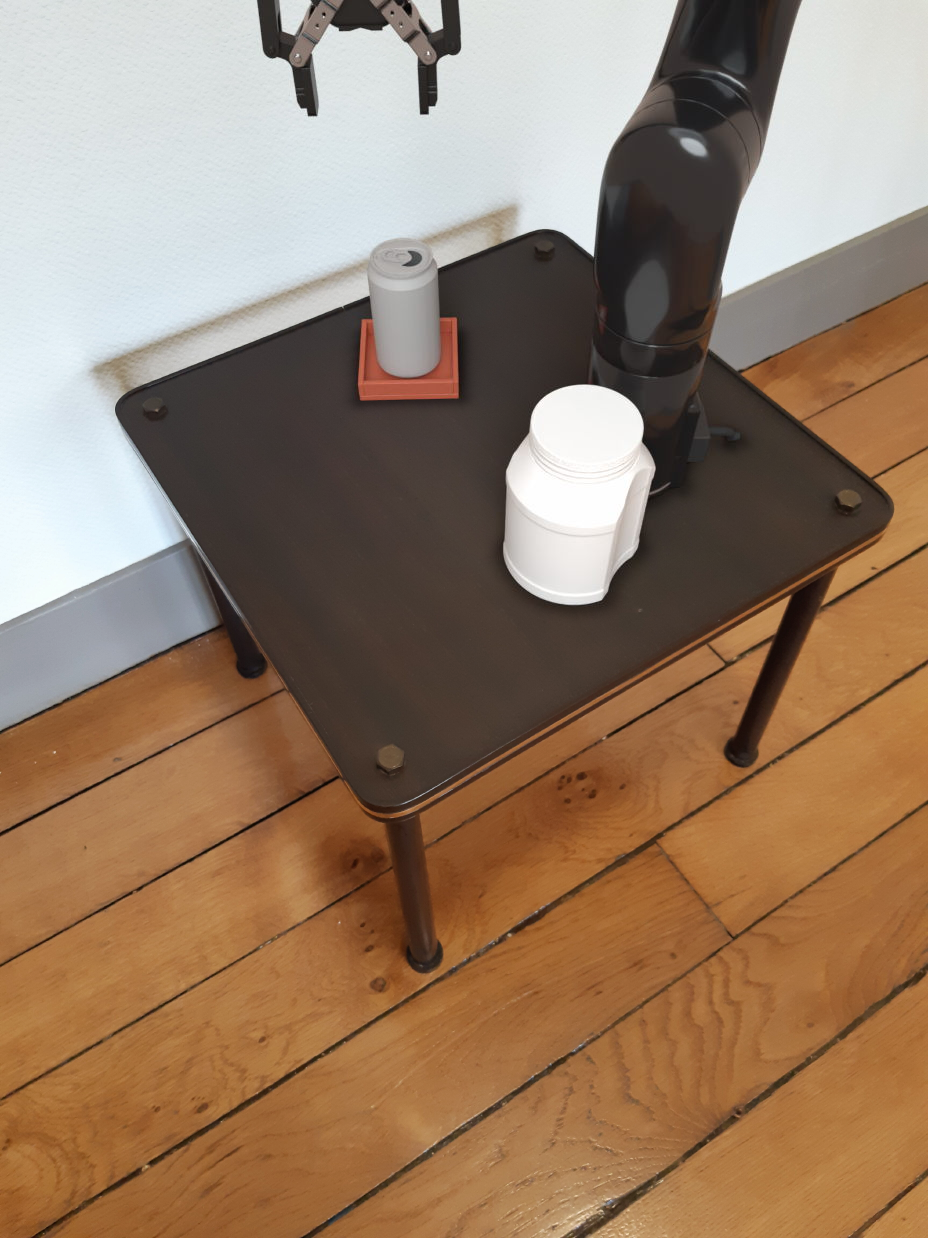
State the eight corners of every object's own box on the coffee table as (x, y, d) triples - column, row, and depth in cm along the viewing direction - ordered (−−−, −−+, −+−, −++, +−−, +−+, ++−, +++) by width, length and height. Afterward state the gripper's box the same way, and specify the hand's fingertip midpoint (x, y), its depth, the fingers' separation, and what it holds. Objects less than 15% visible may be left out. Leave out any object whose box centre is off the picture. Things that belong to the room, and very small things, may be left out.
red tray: (457, 333, 97) (456, 316, 95) (458, 398, 92) (458, 381, 90) (363, 335, 97) (361, 318, 95) (360, 400, 92) (357, 384, 90)
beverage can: (433, 387, 92) (428, 281, 82) (369, 379, 92) (357, 272, 82) (447, 344, 95) (444, 238, 85) (385, 337, 96) (375, 230, 86)
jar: (555, 486, 85) (568, 354, 73) (650, 530, 82) (681, 400, 70) (487, 572, 80) (489, 445, 67) (586, 622, 77) (608, 499, 64)
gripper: (223, -126, 57) (272, 138, 70) (459, -131, 57) (462, 134, 70) (238, -170, 61) (281, 87, 74) (457, -175, 61) (461, 84, 74)
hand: (369, 110), depth 72 cm, fingers open, 8 cm apart
